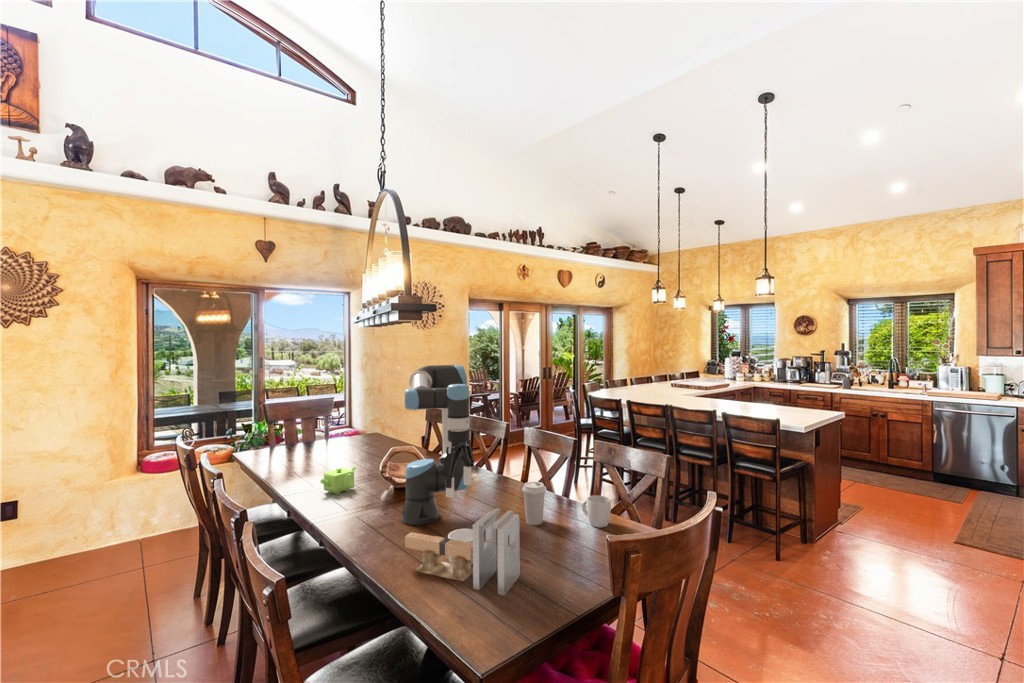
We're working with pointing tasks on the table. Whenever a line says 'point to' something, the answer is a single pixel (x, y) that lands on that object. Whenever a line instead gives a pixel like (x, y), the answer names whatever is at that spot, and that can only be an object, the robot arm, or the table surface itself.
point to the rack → (445, 567)
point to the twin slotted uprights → (487, 551)
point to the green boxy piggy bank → (338, 480)
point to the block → (439, 545)
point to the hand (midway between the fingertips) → (459, 490)
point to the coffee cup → (534, 502)
